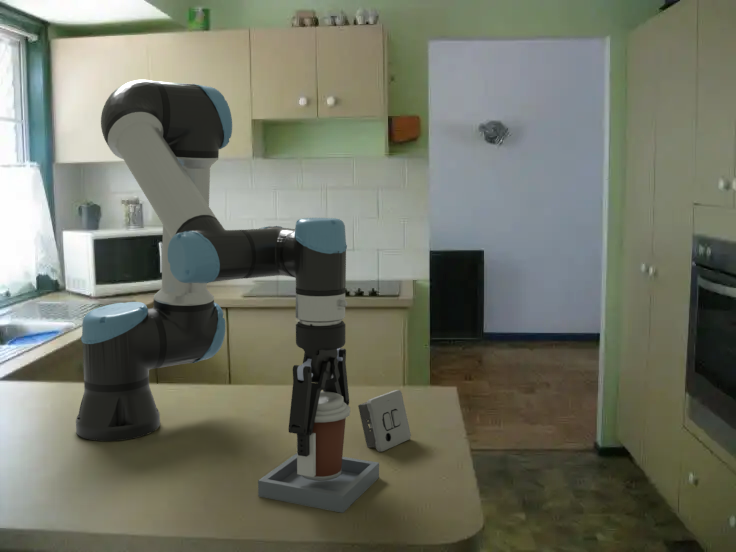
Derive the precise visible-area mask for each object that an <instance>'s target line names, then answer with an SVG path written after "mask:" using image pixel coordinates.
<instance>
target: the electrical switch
mask: <svg viewBox="0 0 736 552" xmlns="http://www.w3.org/2000/svg"><path fill="white" fill-rule="evenodd" d="M403 397H404V396H403V393H402V390H400V389H394V390H391V391H388V392H386V393H384V394H381V395H377V396H375V397H372V398H370V399H367V401H365V402H362V403H361V404H358V405H357V407H358V411H359V416H360V421H361V426H362V429H363V435H364V438H365V444H366V448H375V449H376V450H377V451H378V452H380V453H381V452H384V451H387V450H389V449H391V448H393V447H395V446H398V445H401V444H403V443H404V442H406V441H408V440H410V439H411V437H412V434H411V429H410V425H409V421H408V419H409V418H408V416H407V415H408V414H407V411H406V405H405V403H404V398H403Z"/></svg>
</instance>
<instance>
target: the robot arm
mask: <svg viewBox="0 0 736 552" xmlns="http://www.w3.org/2000/svg"><path fill="white" fill-rule="evenodd" d="M227 101H228V100H226V99H225V97H224V95H223V93H222V92H220V91H219V90H218V89H216V88H215V87H213V86H207V85H201V84H196V83H181V82H180V83H179V82H173V81H172V82H170V81H168V82H167V81H158V80H157V81H156V80H149V79H136V80H131V81H128V82H126V83H124V84H122V85H120V86H118V87H117V88H116V89H115V90H114V91H112V93H111V94H110V95H109V96H108V98H107V99H106V101H105V103H104V106H103V108H102V110H101V116H100V128H101V133H102V136H103V139H104V141H105V143H106V145H107V147H108V148H109V150H110V151H111V152H112V154H113V155H114V156H115V157H117V158H119V159H121V160H123V161H124V163H125V164H126V166H127V167H128V170H129V171H130V172H131V174H132V176H133V177H134V178H133V179H135V181H136V182H137V184H138V185H139V187H140V189H141V190H142V192H143V194H144V196H145V198H146V199H147V201H148V202H149V204H150V206H151V207H152V209H153V210H154V212H155V214H156V215H157V217H158V218H159V220H160V222H161V224H162V252H161V253H162V255H161V256H162V261H161V288H160V289H159V290H158V291H157V292H156V293H155V294H154V295H153V307H151V308H148V307H147V304H146V303H144V302H141V301H127V302H115V303H112V304H111V303H110V304H107V305H102V306H100V307H97V308H95V309H92V310H91V311H89V312H86V313H87V314H85V315H84V317H83V318H82V327H81V329H82V334H81V338H80V340H81V344H82V345H81V346H82V362H83V363H82V364H83V365H82V366H83V385H84V386H83V389H84V390H83V391H84V392H83V395H82V399H81V402H80V405H79V410H78V414H77V416H76V418H75V432H76V435H77V436H79V437H80V438H82V439H85V440H91V441H97V442H98V441H99V442H100V441H101V442H107V441H108V442H114V441H124V440H131V439H136V438H141V437H143V436H146V435H149V434H151V433H153V432H155V431H156V430H158V429H159V427H160V425H161V419H160V415H161V414H160V411H159V409H158V408H157V404H156V402H155V398H154V396H153V393H152V391H151V388H150V387H151V386H150V370H153V369H160V368H165V367H172V366H177V365H185V364H195V363H199V362H200V361H204V360H205V361H206V360H208V359H211V358H213V357H214V356H215V355H216V354H217V353H218V352H219V351H220V350H221V348H222V345H223V343H224V339H225V335H226V319H225V317H224V312H223V311H224V310H223V309H222V308H221V306H220V305H219V304H218V303H217V302H215V296H214V295H213V293H211V292H210V290H208V287H207V285H208V283H215V282H223V281H224V282H225V281H232V280H241V279H242V280H243V279H254V278H266V277H275V276H276V277H277V276H283V277H291V278H295V319H296V320H298V321H297V322H296V324H295V345H296V346H297V347H298V348H300V349H302V350H303V351H304V353H303V359H302V364H301V365H300V364H294V365H293V366H292V381H293V382H292V391H291V392H292V393H291V403H290V409H289V420H288V433H290V434H296V441H297V442H296V453H297V474H299V475H305V476H310V477H314V476H315V475H316V433H312V432H313V427H314V422H315V417H316V412H317V407H318V402H319V397H320V392H321V391H326V392H334V393H337V394H340V395H341V396H342V397H343V398H344V402H345V403H346V404H347V405H348V406H349V404H350V395H349V393H350V392H349V383H348V374H347V373H348V372H347V363H346V360H347V349H346V348H343V347H344V346H345V345H346V323H345V322H344V321H343V320H344V319H345V318H346V307H347V306H348V301H347V300H346V284H347V283H346V280H347V279H346V277H347V276H346V275H347V273H346V272H347V270H346V269H347V247H348V244H347V239H346V225H345V223H344V222H343V220H342V219H340V218H336V217H334V218H333V217H303V218H302V217H301V218H299V219H297V220H296V222H295V228H289V227H288V228H286V227H282V226H279V225H278V226H277V225H276V226H271V225H269V226H262V227H260V228H253V229H250V228H249V229H225V228H224V227H223V225H222V223H220V221H219V219H218V218H217V217H216V215H215V214H214V212H213V210H212V209H211V207H210V190H211V189H210V184H211V183H210V181H211V179H210V178H211V167H212V166H213V164H215V163H216V162H217V161H218V160H219V156H220V155H219V153H220V152H219V151H220V150H222V149H223V148H225V147H226V146H228V144H229V143H230V139H231V137H232V133H233V118H232V113H231V109H230V105H229V104H228V102H227Z"/></svg>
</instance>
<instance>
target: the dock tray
mask: <svg viewBox="0 0 736 552" xmlns="http://www.w3.org/2000/svg"><path fill="white" fill-rule="evenodd" d="M379 478H380V462H378V461H370V460H365V459H359V458H353V457H349V456H348V457H347V456H342V467H341V475H340V476H338V477H337V478H334V479H331V480H325V481H315V480H309V479H306V478H304V477H302V476H301V475H299V474H297V452H296V453H295V454H293V455H292V456H291V457H289V458H288V459H286V460H285V461H284V462H282V463H280V464H279V465H278V466H276V467H275V468H274V469H272V470H271V471H269V472H268V473H267V474H265V475H264V476H262V477H261V478H259V479H258V481H257V483H258V484H257V486H258V488H257V493H258V494H257V495H258V497H260V498H265V499H270V500H276V501H280V502H285V503H290V504H296V505H301V506H306V507H311V508H316V509H321V510H326V511H331V512H332V511H333V512H336V513H337V512H338V513H342V514H343V513H345V511H347V509H349V508H350V507H351V506H352V505H353V504H354V503H355V501H357V500H358V499H359V498H360V497H361V496H362V495H363V494H364V493H365V492H366V491H367V490H368V489H369V488H370V487H371V486H372V485H373V484H374V483H375V482H377V480H378V479H379Z"/></svg>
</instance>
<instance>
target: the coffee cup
mask: <svg viewBox="0 0 736 552" xmlns="http://www.w3.org/2000/svg"><path fill="white" fill-rule="evenodd" d="M350 414H351V407H350V406H349V405H347V404H346V403H345V402H344V398H343V396H341V395H340V394H337V393H334V392H326V391H323V390H321V392H320V397H319V402H318V407H317V412H316V417H315V422H314V427H313V432H312V433H316V475H315V476H314V477H310V476H305V475H301V476H302V477H304V478H306V479H309V480H315V481H325V480H331V479H334V478H337V477H338V476H340V475H341V467H342V457H343V453H344V442H345V433H346V418H348V417H349V416H350Z"/></svg>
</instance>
